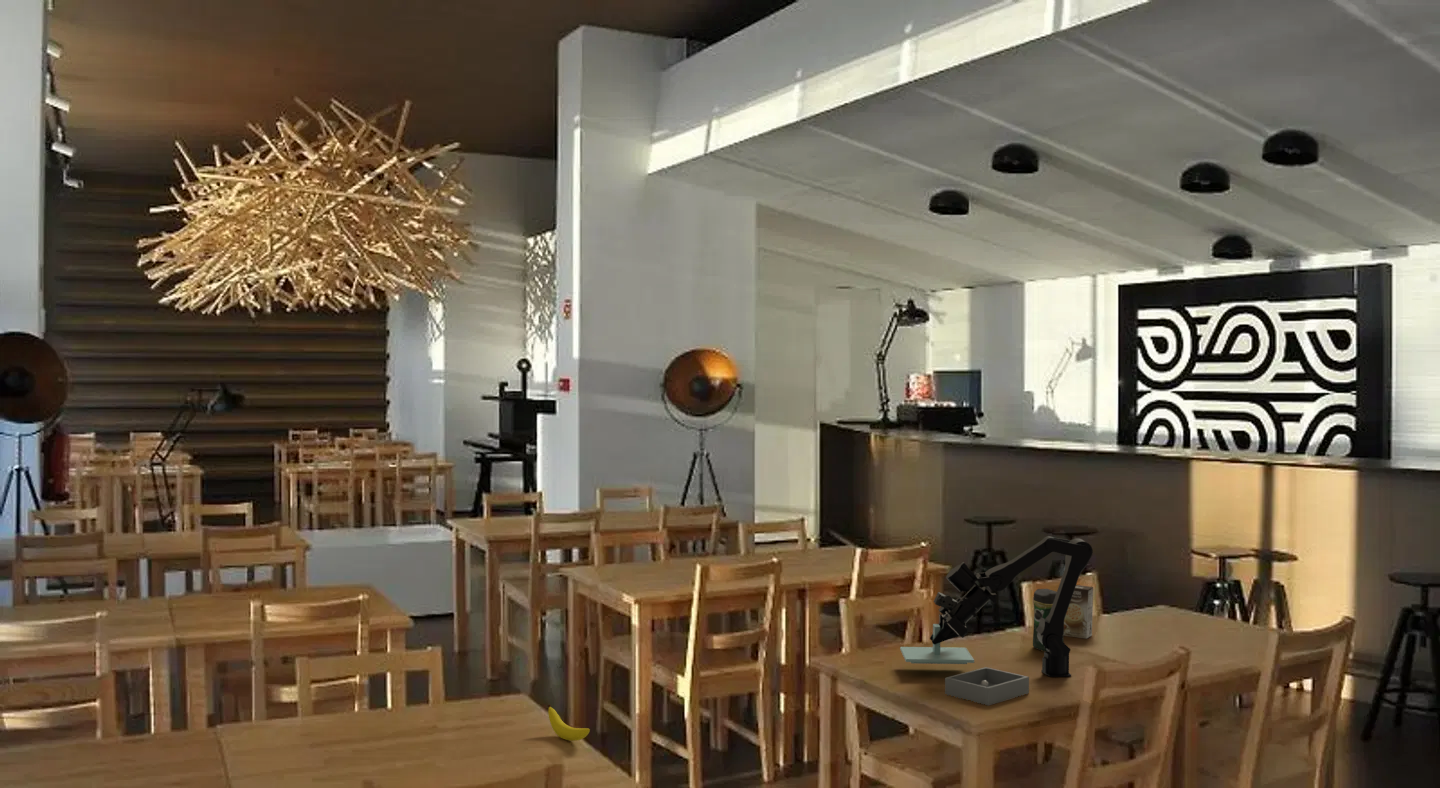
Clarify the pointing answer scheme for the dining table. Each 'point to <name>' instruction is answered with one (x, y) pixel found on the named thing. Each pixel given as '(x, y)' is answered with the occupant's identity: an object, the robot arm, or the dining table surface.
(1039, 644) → the coffee jar
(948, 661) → the lid
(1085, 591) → the coffee box
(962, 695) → the tub
